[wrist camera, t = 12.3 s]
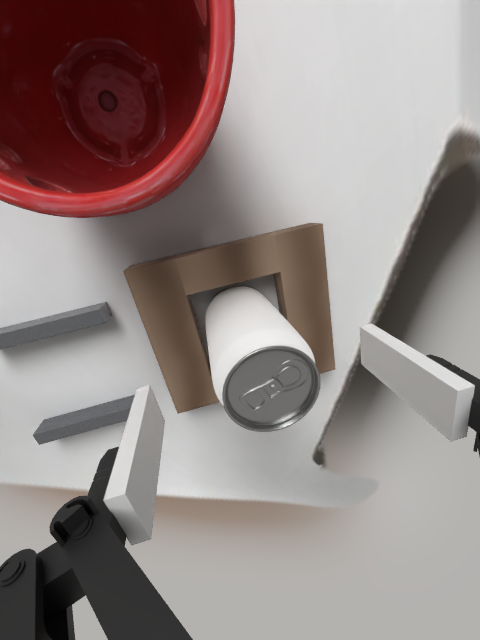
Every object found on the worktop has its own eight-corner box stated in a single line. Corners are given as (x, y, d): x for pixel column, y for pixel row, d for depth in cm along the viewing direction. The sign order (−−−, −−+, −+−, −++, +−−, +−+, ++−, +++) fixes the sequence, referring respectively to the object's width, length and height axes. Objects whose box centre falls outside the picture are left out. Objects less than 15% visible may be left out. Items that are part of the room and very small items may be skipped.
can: (282, 323, 27) (346, 396, 16) (230, 359, 27) (256, 455, 16) (247, 270, 25) (293, 314, 13) (190, 311, 25) (189, 386, 14)
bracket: (49, 429, 27) (39, 444, 25) (-13, 331, 23) (-31, 341, 21) (148, 401, 28) (145, 414, 26) (106, 302, 23) (99, 309, 22)
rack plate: (178, 397, 28) (177, 415, 25) (130, 265, 23) (122, 272, 20) (323, 357, 29) (336, 370, 27) (310, 222, 24) (324, 223, 21)
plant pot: (-27, 109, 18) (-386, -66, 7) (98, -71, 16) (-116, -725, 5) (137, 251, 22) (84, 285, 11) (249, 125, 21) (314, 20, 10)
